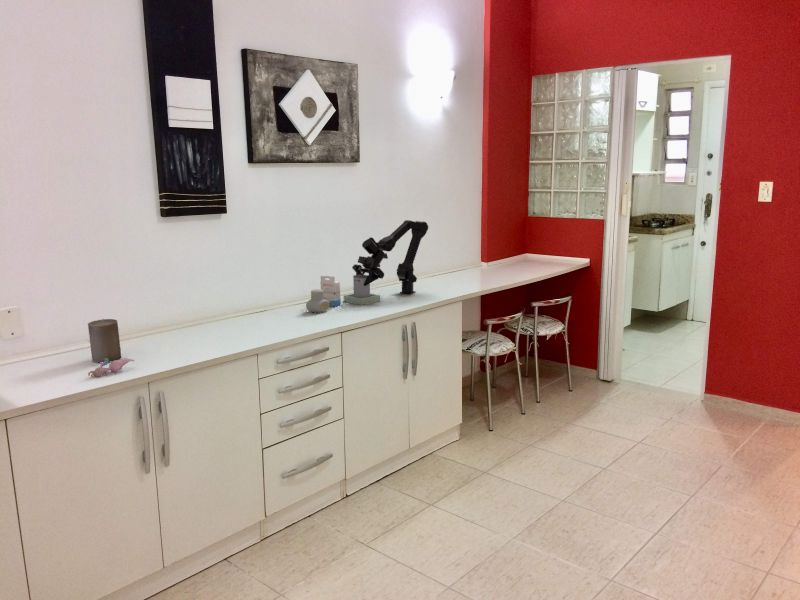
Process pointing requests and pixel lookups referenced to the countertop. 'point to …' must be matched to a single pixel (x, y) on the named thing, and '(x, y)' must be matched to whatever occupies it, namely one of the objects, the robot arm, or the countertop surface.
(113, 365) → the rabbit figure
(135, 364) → the countertop surface
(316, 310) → the beige rounded blocky piece
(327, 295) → the ink box
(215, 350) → the countertop surface
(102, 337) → the pillar candle
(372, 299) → the tray
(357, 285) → the grey rectangular block
